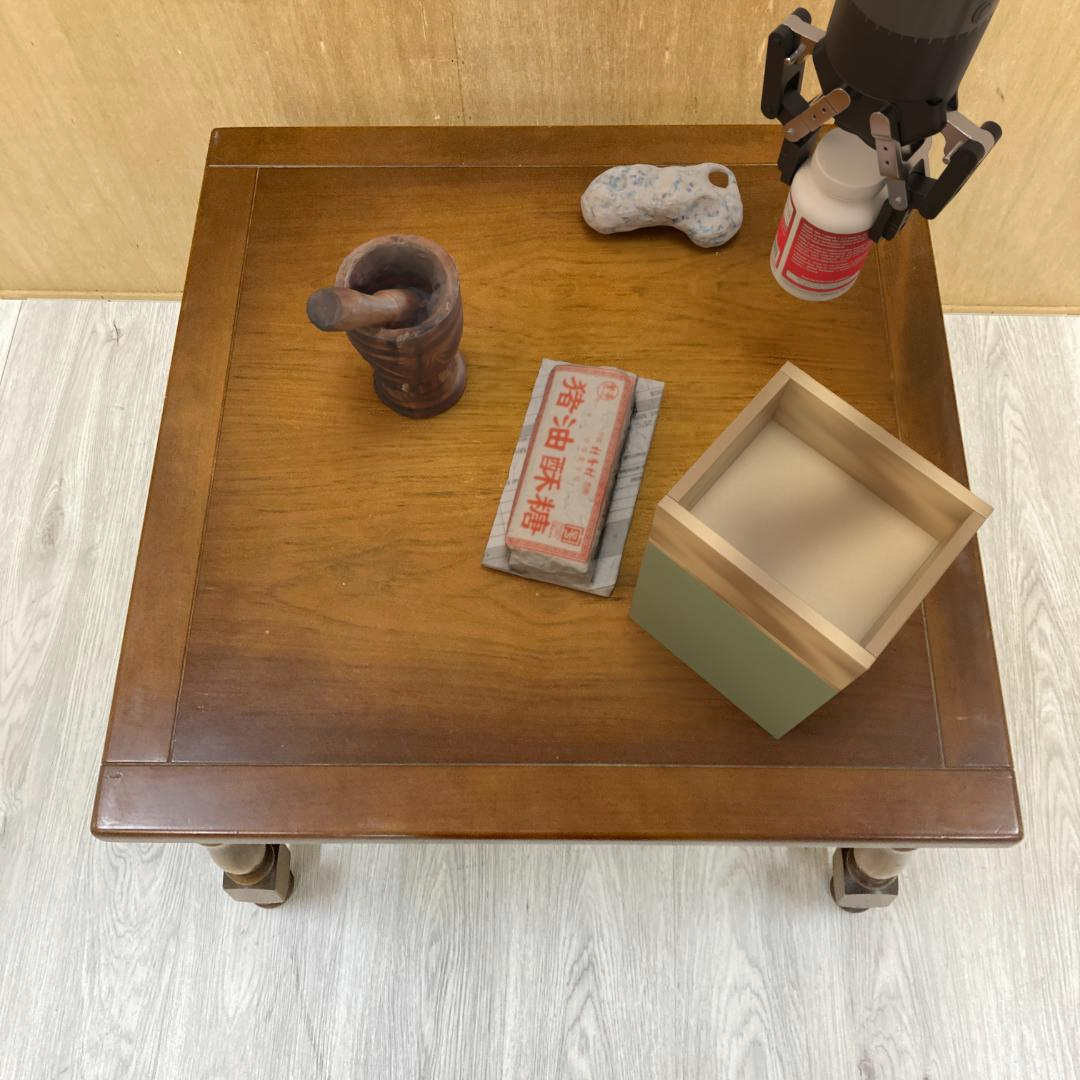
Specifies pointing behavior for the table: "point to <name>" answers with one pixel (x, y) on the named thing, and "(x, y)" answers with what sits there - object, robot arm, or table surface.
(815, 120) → the robot arm
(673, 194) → the decorative stone
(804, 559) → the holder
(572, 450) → the packaged product
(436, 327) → the mortar and pestle
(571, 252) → the table surface
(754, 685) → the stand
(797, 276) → the pill bottle
